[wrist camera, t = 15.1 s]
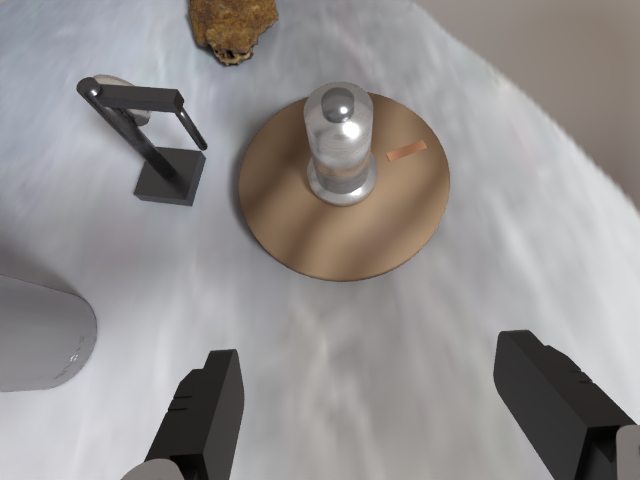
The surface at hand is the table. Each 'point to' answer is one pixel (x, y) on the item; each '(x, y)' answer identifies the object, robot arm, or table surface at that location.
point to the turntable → (345, 222)
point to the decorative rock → (231, 25)
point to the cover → (340, 144)
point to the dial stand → (161, 163)
